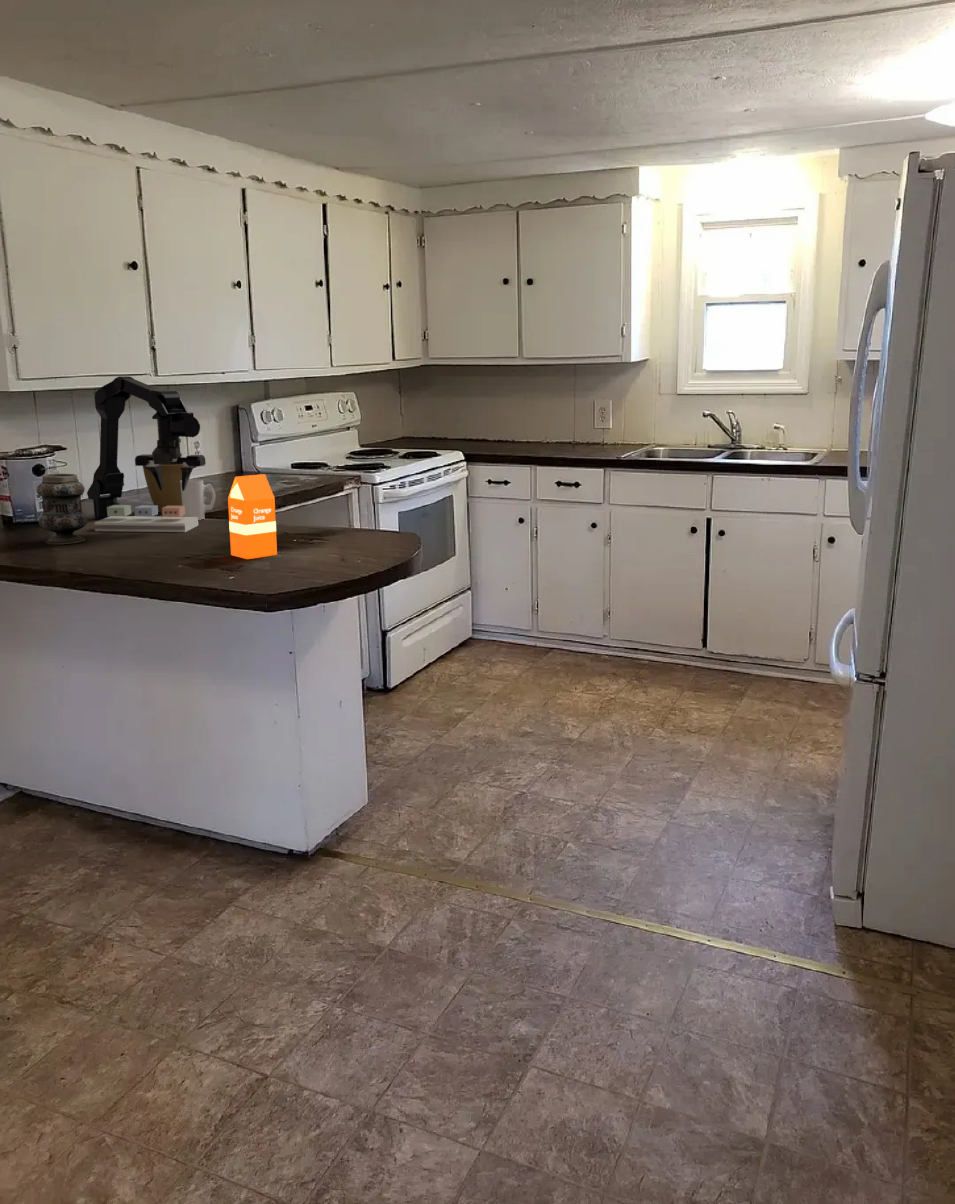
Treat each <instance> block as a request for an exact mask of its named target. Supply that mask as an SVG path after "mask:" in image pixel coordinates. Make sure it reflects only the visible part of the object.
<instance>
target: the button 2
mask: <svg viewBox="0 0 955 1204" xmlns="http://www.w3.org/2000/svg"><path fill="white" fill-rule="evenodd" d="M133 510H134V516H143V517H152V516H157V515H158V514H159V513H158V505H154V504H153V505H152V504H151V505H150V504H149V505H147V504H146V505H140V504H139V506H135V507H134V509H133Z"/></svg>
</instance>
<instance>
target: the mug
mask: <svg viewBox="0 0 955 1204" xmlns="http://www.w3.org/2000/svg"><path fill="white" fill-rule="evenodd" d="M180 482H181V494H182V506H185V515H183V516H182V517H198V520H201V519H204V520H205V519H206V518H205V516H206V515H205V513H206V511H212V509H213V507H214V504H215V503H216V492H215V490H214V488H213V486H212V483H207V484H204V480H203V479H195V478H193V479H192V478H191V479H190V478H189V480H188V482H187V485H186V488H185V490H184V491H182V480H181V481H180ZM205 490H209V491H210V493H211V501H210V503H209V504H205V493H204V492H205ZM201 521H202V520H201Z"/></svg>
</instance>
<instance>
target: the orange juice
mask: <svg viewBox="0 0 955 1204" xmlns="http://www.w3.org/2000/svg"><path fill="white" fill-rule="evenodd" d="M275 498H276V497H275V495H274V493H273V491H272V488H271V486H270V483H269V481H268V479H267V475H266V474H265V473H263V474H252V475H250V474H249V475H241V476H235V477H234V479H233V482H232V485H231V488H230V492H229V494H228V497H227V502H228V503H227V504H228V505H227V507H228V519H229V520H228V525H229V529H228V530H229V540H230V541H229V543H230V555H231V556H234V557H238V558H242V559H245V560H250V559H251V560H252V559H259V558H263V557H264V558H265V557H271V556H276V555H277V556H278V551H277V550H278V548H277V545H278V544H277V521H276V503H275Z"/></svg>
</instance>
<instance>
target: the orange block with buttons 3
mask: <svg viewBox="0 0 955 1204" xmlns="http://www.w3.org/2000/svg"><path fill="white" fill-rule="evenodd" d="M161 514H162V516H161V517H183V515H185V506H166V507H163V508H162V513H161Z"/></svg>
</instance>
